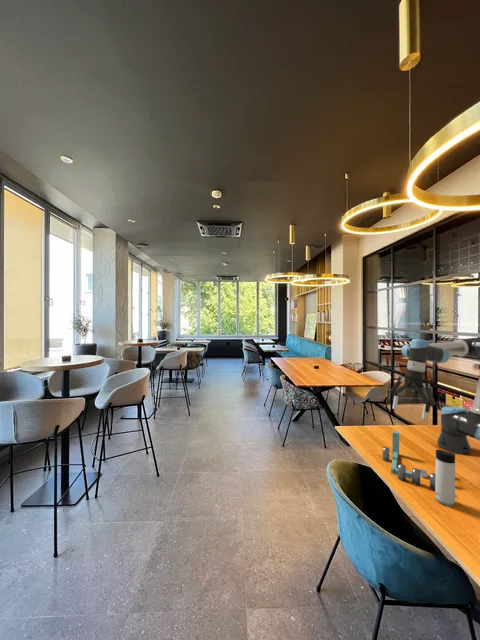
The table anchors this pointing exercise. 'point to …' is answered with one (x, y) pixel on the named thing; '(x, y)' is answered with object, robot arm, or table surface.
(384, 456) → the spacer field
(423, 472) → the hexagonal star block
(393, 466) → the teal bent bar
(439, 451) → the travel mug
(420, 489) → the table surface
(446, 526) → the table surface
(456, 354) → the robot arm
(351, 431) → the table surface
